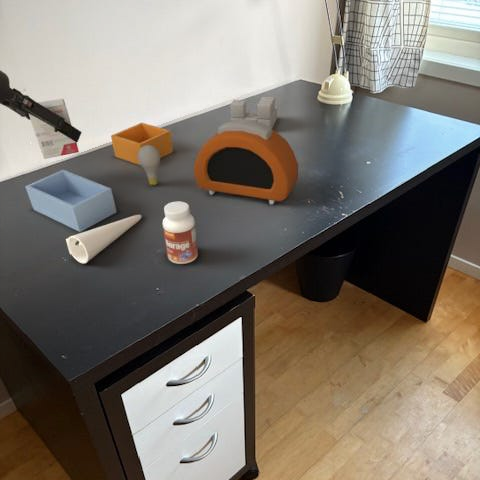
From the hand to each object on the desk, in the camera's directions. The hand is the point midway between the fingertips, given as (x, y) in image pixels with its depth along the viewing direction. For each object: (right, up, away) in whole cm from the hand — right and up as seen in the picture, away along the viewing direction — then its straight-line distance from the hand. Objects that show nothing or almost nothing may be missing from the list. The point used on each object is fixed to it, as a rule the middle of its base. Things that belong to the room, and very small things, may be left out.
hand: (67, 133), depth 118 cm
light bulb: (+21, -12, +3) cm, 25 cm away
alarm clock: (+44, -16, -2) cm, 47 cm away
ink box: (-2, -5, +1) cm, 5 cm away
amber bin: (+16, +1, +17) cm, 23 cm away
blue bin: (+4, -21, -6) cm, 22 cm away
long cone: (+16, -30, -16) cm, 38 cm away
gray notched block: (+48, +14, +31) cm, 58 cm away
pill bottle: (+31, -34, -22) cm, 51 cm away
